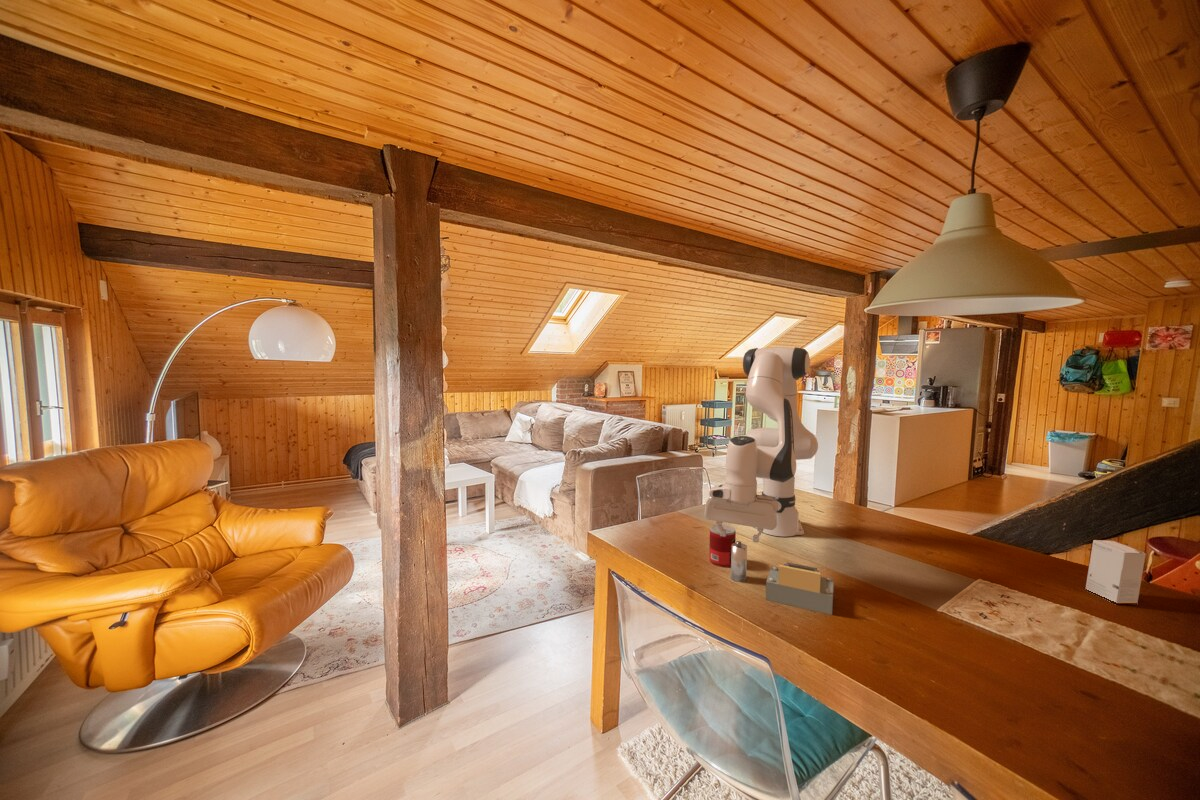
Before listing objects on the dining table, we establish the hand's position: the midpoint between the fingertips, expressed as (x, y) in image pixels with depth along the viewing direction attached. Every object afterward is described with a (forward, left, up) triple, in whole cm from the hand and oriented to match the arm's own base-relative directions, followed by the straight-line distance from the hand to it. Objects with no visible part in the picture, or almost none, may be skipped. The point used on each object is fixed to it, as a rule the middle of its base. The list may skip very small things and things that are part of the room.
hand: (739, 538), depth 134 cm
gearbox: (+4, +17, -12) cm, 21 cm away
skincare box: (-37, +92, -13) cm, 100 cm away
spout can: (0, 0, -12) cm, 12 cm away
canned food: (-9, -7, -13) cm, 17 cm away
